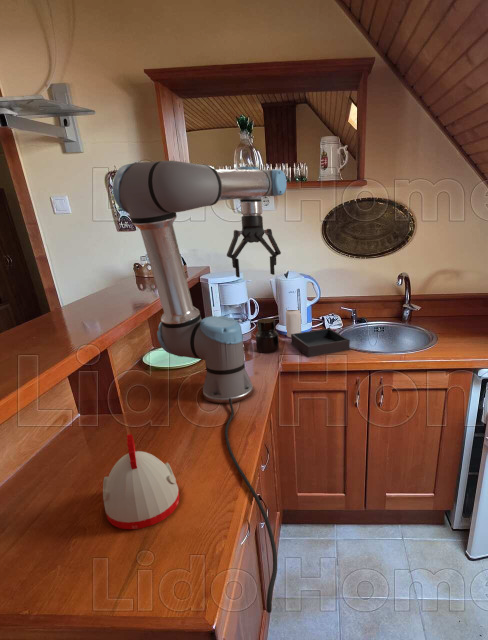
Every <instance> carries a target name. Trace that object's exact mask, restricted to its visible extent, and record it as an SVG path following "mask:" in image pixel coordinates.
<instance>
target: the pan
mask: <svg viewBox="0 0 488 640" xmlns="http://www.w3.org/2000/svg"><path fill="white" fill-rule="evenodd" d="M290 339H291V340H290V341H291V342H290V343H291V345H293V346H294V348H296V349H298V350H299V351H300V352H302V353H303V354H304V355H305V356H306V357H308V358H310V357H316V356H317V357H318V356H321V355H327V354H332V353H339V352H344V351H350V339H349V338H347V337H345V336H344V335H342V334H340V333H338V332H337V331H335V330H333V329H332V328H324V329H323V328H322V329H317V330H309V331H301V333H295V334H291V338H290Z"/></svg>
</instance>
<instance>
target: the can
mask: <svg viewBox="0 0 488 640" xmlns="http://www.w3.org/2000/svg"><path fill="white" fill-rule="evenodd" d="M299 310H300V309H298V310H287V308H286V309H285V331H286V330H287V334H286V337H287V338H290V339H291V334H295V333H302V314H301V313H302V312H301V310H300V311H299ZM300 312H301V313H300Z"/></svg>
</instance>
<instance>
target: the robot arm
mask: <svg viewBox="0 0 488 640" xmlns="http://www.w3.org/2000/svg"><path fill="white" fill-rule="evenodd" d="M286 190H287V177H286V174H285V172H284V171H283V170H282V169H274V168H272V169H260V168H259V167H258V166H240V167H238V169H227V168H226V169H221V168H219V169H218V168H214V167H213V166H212V165H209V164H199V163H192V162H186V161H184V162H183V161H177V160H161V161H143V162H142V161H140V162H138V161H135V162H131V163H127V164H125V165H121V166H120V167H119V168H118V170H116V172H115V175H114V177H113V180H112V195H113V198H114V200H115V203H116V204H117V206H118V208H121V210H122V211H123V212H125V213H126V214H128V215H129V218H130V221H131V224H132V225H133V226H135V227H136V228H138V229H139V230H140V235H141V237H142V241H143V245H144V248H145V252H146V255H147V258H148V262H149V266H150V268H151V272H152V275H153V279H154V283H155V287H156V290H157V293H158V296H159V300H160V304H161V307H162V311H163V313H162V315H161V316H160V322H159V324H158V327H157V329H158V330H157V332H156V337H157V341H158V343H159V346H160V347H161V348H162V350H163V351H164V352H166V353H167V354H169V355H174V356H177V357H181V358H183V357H184V358H191V359H196V360H202V361H204V362H205V370H206V373H205V379H204V383H203V388H202V394H203V398H204V399H205V400H206V401H208V402H210V403H213V404H223V405H224V404H229V408H230V416H229V418H228V420H227V421H226V424H225V427H224V437H225V438H224V439H225V444H226V448H227V451H228V453H229V456H230V458H231V461H232V462H233V464H234V466H235V468H236V470H237V472H238V474H239V475H240V477H241V478H242V480H243V481H244V483H245V485H246V486H247V488H248V490H249V491H250V493H251V495H252V497H253V499H254V500H255V502H256V504H257V506H258V508H259V511H260V513H261V515H262V518H263V520H264V523H265V526H266V531H267V533H268V537H269V541H270V548H271V553H272V572H271V577H270V580H269V584H268V588H267V593H266V612H267V613H268V614H271V613H272V607H273V605H272V604H273V603H272V601H273V593H274V587H275V583H276V579H277V575H278V552H277V546H276V542H275V541H276V540H275V538H274V533H273V531H272V527H271V523H270V520H269V518H268V515H267V512H266V511H265V509H264V506H263V504H262V502H261V500H260V498H259V496H258V494H257V493H256V491H255V489H254V488H253V486H252V485H251V483H250V481H249V480H248V478H247V476H246V474H245V473H244V472H243V470H242V468H241V467H240V465H239V462H238V461H237V460H236V457H235V455H234V453H233V451H232V448H231V444H230V440H229V434H228V433H229V427H230V424H231V422H232V420H233V418H234V414H235V410H234V407H233V404H234V403H238V402H241V401H244V400H246V399H247V398H249V397H251V396H252V394H253V392H254V385H253V382H252V380H251V378H250V376H249V373H248V372H247V369H246V364H245V363H246V362H245V352H244V351H245V349H244V335H243V330H242V326H241V324H240V322H239V321H238V320H236V319H234V318H232V317H228V316H224V315H219V316H217V315H212V316H206V317H204V318H203V319H202V315H201V311H200V310H199V308H196V307H195V306H194V305H193V300H192V296H191V292H190V288H189V284H188V281H187V276H186V272H185V268H184V264H183V259H182V256H181V252H180V248H179V244H178V239H177V236H176V232H175V227H174V222H175V220H176V219H177V216H178V215H177V213H182V212H187V211H192V210H195V209H199V208H205V207H210V206H214V205H216V204H217V203H218V202H219V201H229V200H240V214H241V215H242V216H240V217H241V230H237V229H234V230H233V237H232V239H231V242H230V244H229V248H228V250H227V253H226V257H227V258H229V259H231V262H232V263H231V264H232V268H233V269H235V277H236V278H240V277H241V275H240V260H239V258H238V257H239V255H240V254H241V252H242V250H243V249H244V248H245V246H246V245H247V244H248V243H250V244H253V243H260V244H261V245H262V246H263V247H264V249H266V250H267V252H268V253H269V254H270V256H269V273H270V275H273V276H274V275H276V274H275V266H277V257H278V256H279V255H280V256H281V254H282V251H281V250H280V248H279V246H278V243H277V242H276V240H275V238H274V236H273V231H272V228H266V229H264V222H263V221H264V220H263V216H262V214H263V204H262V203H263V201H262V198H263V197H278V196H283V195H284V194H285V193H286ZM264 235H265V236H267V238H268V240H269V242H270V245H271V246H272V247H271V246H270V245H269V244H268V242H267V241H266V240H265V239H264V237H263V236H264ZM241 236H242V237H243V238H242V240H241V242H240V243H239V245H238V246H237V243H238V240H239V238H240V237H241ZM236 246H237V247H236ZM235 248H236V249H235Z"/></svg>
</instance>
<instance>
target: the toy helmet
mask: <svg viewBox="0 0 488 640" xmlns="http://www.w3.org/2000/svg"><path fill="white" fill-rule="evenodd" d="M126 444H127V445H126V446H127V449H128V453H126V454H125V455H123V456H122V457H120V458H119V459H118V460H117V461H116V462H115V464H114V465H113V467H112V468H111V470H110V472H109V473H108V476H104V478H103V482H102V483H103V484H102V499H103V505H104V511H105V515H106V518H107V521H108V522H109V524H110V525H112V526H113V527H116V528H118V529H123V530H140V529H144V528H147V527H151V526H153V525H155V524H158V523H160V522H162V521H163V520H165V519H166V518H168V517H169V516H170V515H172V513H174V511H175V510H176V509H177V507H178V505H179V504H180V497H181V495H180V491H179V486H178V484H177V479H176V476H175V474H174V472H173V470H172V467H171V466H170V463H169V462H165V463H164V462H163V461H162V460H160V459H159V458H158V457H156V456H155V455H154V454H151V453H150V452H146V451H141V450H136V445H135V440H134V436H133V433H130V434H127V435H126Z"/></svg>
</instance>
